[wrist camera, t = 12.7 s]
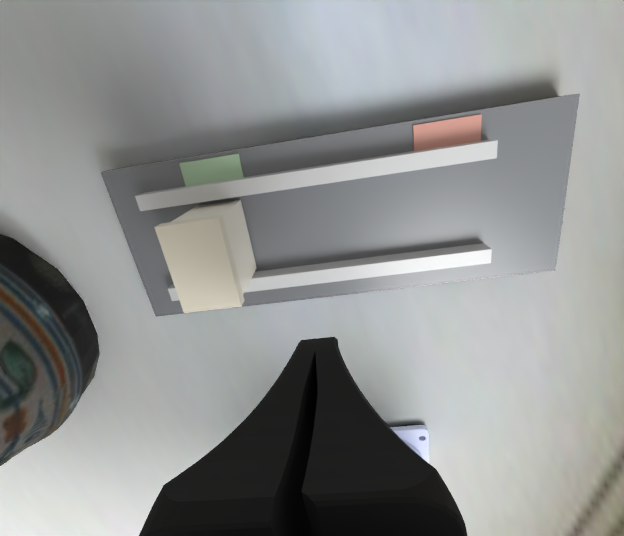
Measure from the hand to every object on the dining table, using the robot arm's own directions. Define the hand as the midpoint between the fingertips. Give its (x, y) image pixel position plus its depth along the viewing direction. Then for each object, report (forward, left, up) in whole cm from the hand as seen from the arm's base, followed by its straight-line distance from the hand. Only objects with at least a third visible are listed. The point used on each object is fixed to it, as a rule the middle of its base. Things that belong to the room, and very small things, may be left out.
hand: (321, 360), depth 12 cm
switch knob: (+3, +5, -8) cm, 10 cm away
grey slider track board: (+3, -1, -9) cm, 10 cm away
